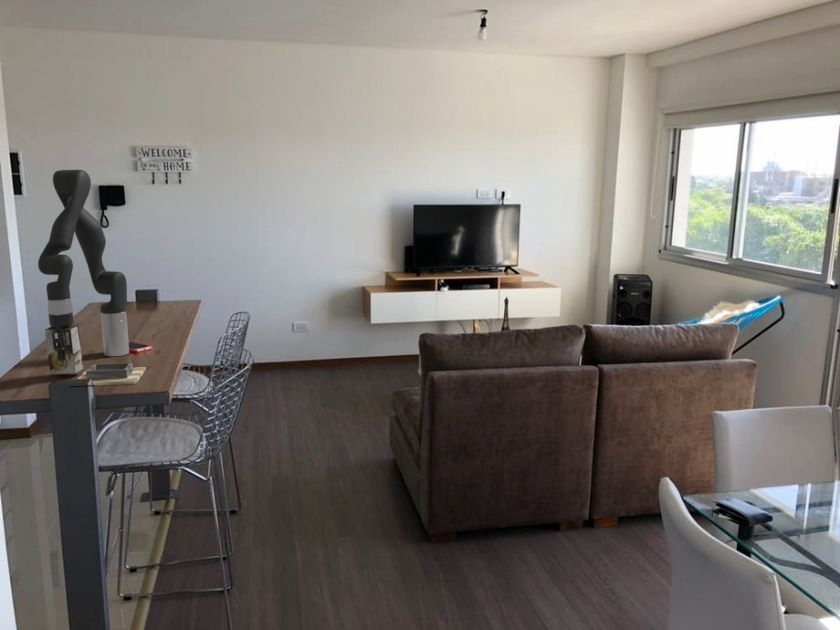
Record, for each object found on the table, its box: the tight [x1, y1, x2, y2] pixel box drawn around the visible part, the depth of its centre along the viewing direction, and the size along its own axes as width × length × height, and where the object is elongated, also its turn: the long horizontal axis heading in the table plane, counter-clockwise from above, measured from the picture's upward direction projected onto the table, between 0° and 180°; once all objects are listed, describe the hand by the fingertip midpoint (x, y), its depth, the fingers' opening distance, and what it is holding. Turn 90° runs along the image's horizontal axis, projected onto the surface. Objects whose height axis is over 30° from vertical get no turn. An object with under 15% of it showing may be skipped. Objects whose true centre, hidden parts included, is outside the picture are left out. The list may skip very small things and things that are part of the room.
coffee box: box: [44, 324, 84, 374], centre depth 236 cm, size 9×6×16 cm
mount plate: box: [77, 362, 147, 387], centre depth 236 cm, size 18×20×4 cm
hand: (65, 357), depth 237 cm, fingers closed on coffee box, 7 cm apart
